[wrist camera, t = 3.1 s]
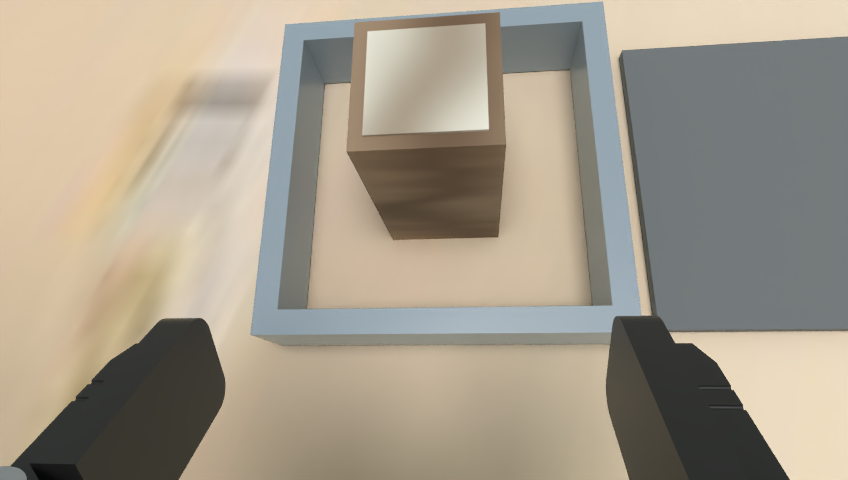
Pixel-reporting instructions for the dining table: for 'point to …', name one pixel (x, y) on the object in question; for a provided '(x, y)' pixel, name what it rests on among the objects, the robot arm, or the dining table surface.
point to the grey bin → (296, 325)
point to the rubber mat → (742, 182)
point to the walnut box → (430, 123)
